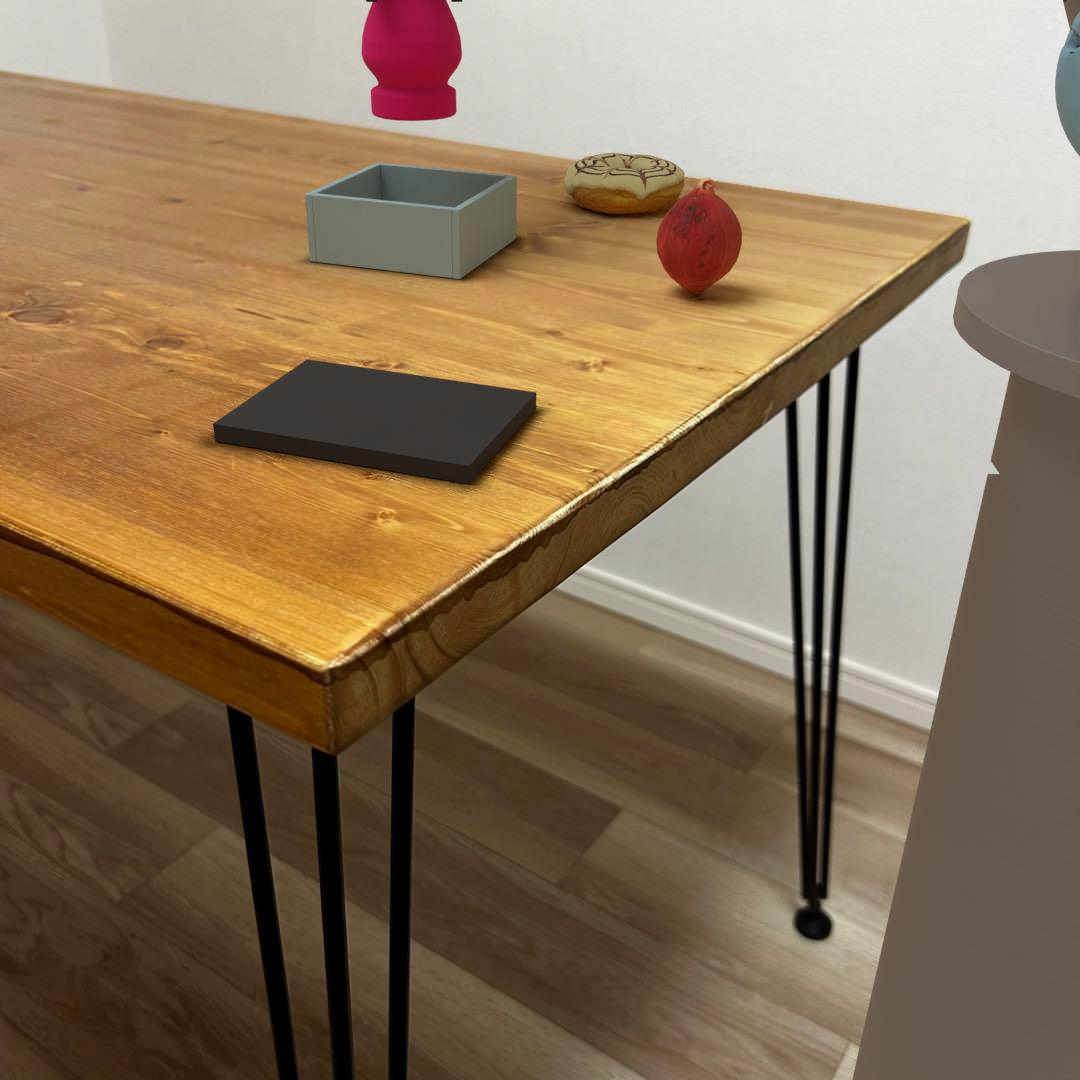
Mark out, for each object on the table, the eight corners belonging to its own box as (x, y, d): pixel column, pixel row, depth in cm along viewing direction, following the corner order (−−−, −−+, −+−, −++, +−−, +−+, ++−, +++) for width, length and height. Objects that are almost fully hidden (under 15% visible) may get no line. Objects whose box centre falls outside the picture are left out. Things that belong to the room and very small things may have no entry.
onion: (709, 312, 81) (719, 192, 77) (637, 295, 84) (644, 179, 80) (750, 292, 85) (762, 177, 81) (680, 277, 88) (689, 165, 84)
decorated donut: (545, 209, 105) (545, 165, 103) (593, 185, 114) (594, 144, 112) (655, 223, 101) (658, 178, 100) (696, 198, 110) (700, 155, 108)
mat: (536, 409, 66) (536, 391, 65) (469, 484, 57) (469, 465, 57) (308, 375, 69) (307, 358, 69) (214, 441, 61) (212, 423, 60)
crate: (516, 238, 97) (517, 175, 94) (460, 279, 86) (459, 209, 84) (379, 223, 100) (376, 162, 97) (309, 261, 90) (304, 193, 87)
